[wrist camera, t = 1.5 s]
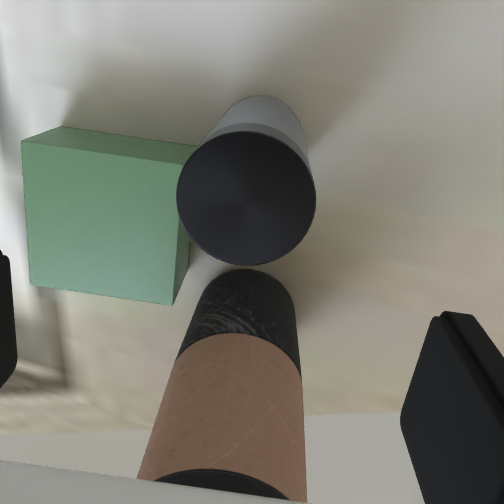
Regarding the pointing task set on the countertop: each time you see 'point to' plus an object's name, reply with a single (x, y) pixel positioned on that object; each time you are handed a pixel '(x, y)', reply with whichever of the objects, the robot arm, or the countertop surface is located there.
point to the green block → (105, 214)
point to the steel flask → (249, 185)
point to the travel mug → (234, 396)
